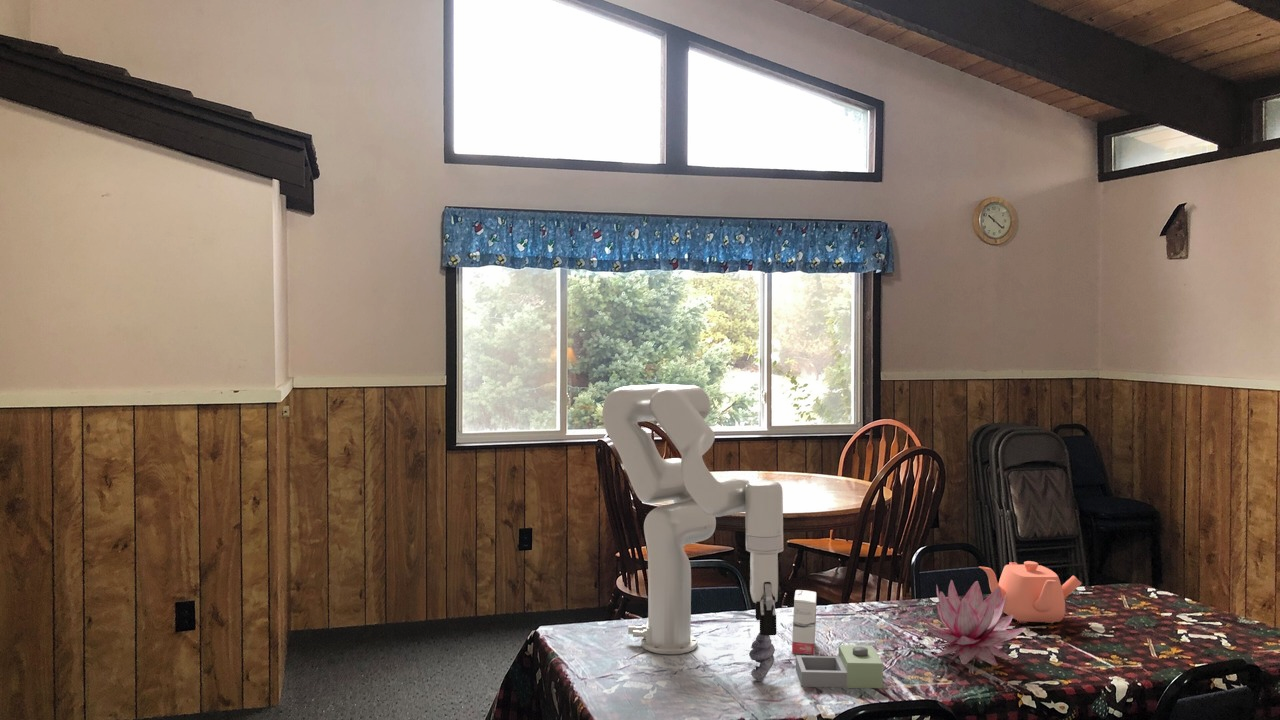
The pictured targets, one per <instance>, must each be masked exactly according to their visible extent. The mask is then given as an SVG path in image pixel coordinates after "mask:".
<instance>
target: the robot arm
mask: <svg viewBox="0 0 1280 720" xmlns="http://www.w3.org/2000/svg"><path fill="white" fill-rule="evenodd" d="M710 412H711V400H710V398H709V396H708V394H707V392H706V391H705V390H704V389H703V388H701V387H699V386H697V385H694V384H671V383H668V384H667V383H654V384H640V385H639V384H635V385H626V386H621V387H617V388H615V389H613V390H612V391H610V392H609V393H608V394H607V396H606V397H605V399H604V401H603V406H602V414H601V415H602V422H603V426H604V430H605V432H606V434H607V435H608V437H609V440H610V441H611V442H612V444H613V446H614V448H615V449H616V451H617V453H618V455H619V457H620V460H621V462H622V464H623V468H624V470H625V472H626V474H627V477H628V480H629V481H630V484H631V487H632V489H633V491H634V492H635V495H636V496H637V498H638V499H639V501H641V502H642V503H644V504H658V503H664V502H668V501H670V502H671V501H673V503H668V504H662V505H660V506H657V507H655V508H653V509H652V510H650V511H649V512H648V514H647V515H646V516H645V519H644V522H643V534H644V539H645V542H646V543H645V544H646V551H647V566H648V568H647V574H648V575H647V576H648V577H647V578H648V581H647V583H648V585H647V586H648V589H647V590H648V593H647V595H648V598H647V599H648V600H647V601H648V602H647V603H648V604H647V605H648V608H647V609H648V610H647V611H648V612H647V618H648V619H647V620H646V624H645V623H643V624H642V625H631V624H629V625H628V627H627V628H628V629H627V630H628V632H627V633H628V635H632V638H641V641H640V642H641V643H640V644H641V645H640V646H641V647H642V648H643V649H645V650H646V651H648V652H651V653H655V654H660V655H680V654H681V655H682V654H687V653H690V652H692V651H694V650H695V649H696V648H697V647H698V638H697V637H695V636H694V635H693V634H692V633H691V630H692V629H691V628H692V626H691V623H692V622H691V621H692V620H691V617H692V616H691V614H692V613H691V612H692V610H691V609H692V606H691V605H692V604H691V602H692V569H691V568H692V566H691V562H690V560H689V557H688V555H687V553H686V551H685V549H684V546H688V545H691V544H696V543H699V542H703V541H706V540H708V539H710V538H711V537H712V536H713V534H714V533H715V531H716V526H717V519H716V518H721V517H725V516H729V515H735V514H741V513H745V515H744V516H745V517H744V521H745V551H747V552H748V553H750V557H749V558H750V559H749V564H750V565H749V567H750V568H749V569H750V572H749V577H750V579H749V592H750V593H749V594H750V597H751V600H752V602H753V603H755V605H754V606H755V620H756V621H759V633H760V635H769V636H776V635H777V614H776V605H775V604H776V602H778V597H779V560H778V559H779V557H778V555H779V553H782V552H784V506H783V503H784V502H783V500H784V498H783V496H784V495H783V487H782V485H781V483H779V482H778V481H775V480H770V479H769V480H767V479H766V480H765V479H763V480H762V479H758V478H755V477H753V476H750V475H745V474H744V475H735V476H728V477H721V478H715V476H714V475H713V473H711V472H710V470H709V469H708V467H707V466H706V463H705V462H704V459H703V455H705V454H706V453H707V452H708V451H709V449H711V447H712V445H713V444H714V442H715V438H716V435H715V433H714V431H713V429H712V428H711V426H709V424H708V423H707V421H706V420H705V419H706V418H707V417H708V416H709V414H710ZM651 421H656V422H657V423H658V424H659V426H660V427H661V428H662V431H664V433H665V434H666V436H667V437H668V438H669V440H670V441H671V442H672V444H673V445H674V447H675V448H676V449H677V450H678V452H679V453H680V456H681V458H680V457H673V458H672V457H671V458H665V459H664V458H662V456H661V455H660V452H659V451H658V449H657V447H656V444H655V441H654V440H653V439H652V437H651V436H650V435H649V434H648V433H647V432H646V430H644V429H643V428H642V427H641V426H639V424H638V423H640V422H651Z"/></svg>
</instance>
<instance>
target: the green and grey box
mask: <svg viewBox="0 0 1280 720" xmlns="http://www.w3.org/2000/svg"><path fill="white" fill-rule="evenodd" d="M883 663H884V662H883V661H882V660H881V657H880V655H879V654H878V653H877V651H876V649H875V648H874V645H861V644H860V645H856V644H855V645H853V644H852V645H851V644H838V655H800V654H799V655H798V654H797V655H795V671H796V675H797V677H798V681H799V684H800V686H801V687H803V688H804V687H806V688H843V689H844V688H845V689H846V688H847V689H848V688H849V689H850V688H853V689H855V688H856V689H883V686H884V685H883V683H884V681H883V680H884V676H883V675H884V672H883V671H884V664H883ZM801 687H800V688H801Z"/></svg>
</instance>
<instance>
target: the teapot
mask: <svg viewBox="0 0 1280 720" xmlns="http://www.w3.org/2000/svg"><path fill="white" fill-rule="evenodd" d="M1008 563H1009V564H1006V565H1004V566H1003V570H1002V572H1001V575H1000V578H999V581H998V580H997V575H996V573H995V571H994V570H993V569H992V568H991V567H988V566H987V567H986V566H978V568H980V569H981V570H983V571H984V572H985V574H986V576H987V578H988V584H989V589H990V592H991V593H992V592H993V591H994V590H995V589H996V588H997V587H1000V589H1001V600H1002V599H1003V597H1004V596H1005V594H1006V602H1005V607H1004V610H1003V613H1004V614H1005V615H1006V616H1009V615H1013V618H1012V619H1014V620H1015V621H1016V620H1017V621H1019V622H1025V623H1026V622H1028V623H1029V622H1031V623H1044V622H1045V623H1044V624H1046V623H1054V622H1055V623H1058V622H1061V621H1062V620H1063V619H1064V616H1065V614H1066V602H1065V599H1066V598H1067V597H1068V596H1069V595H1071V594H1072V593H1073V592H1074V591H1075V590H1077V589H1078V588H1079V587H1080V586H1081V585H1082V584H1083V583H1082V581H1080V580H1079V579H1078V578H1077V576H1075V575H1072V576H1071V577H1070V578H1068V579H1067V580H1065V582H1064V583H1063V584H1061V580H1060V578H1059V576H1058V574H1057V573H1056V572H1054V571H1053V570H1052V569H1050V568H1049V567H1046V566H1043V565H1041V564H1040V565H1039V563H1038V562H1036V561H1031V560H1027V561H1024V562H1023V564H1018V563H1017V562H1012V561H1010V562H1008ZM991 593H990V594H991Z"/></svg>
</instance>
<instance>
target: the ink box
mask: <svg viewBox="0 0 1280 720" xmlns="http://www.w3.org/2000/svg"><path fill="white" fill-rule="evenodd" d="M793 600H794V601H793V602H794V603H793V614H792V615H793V618H792V638H791V639H792V640H791V644H792V645H791V654H797V655H798V654H799V655H800V654H801V655H802V654H803V655H810V656H814V654H815V642H816V641H815V640H816V625H817V624H816V623H817V621H816V620H817V592H816V591H813V590H808V589H807V590H806V589H805V590H803V589H796V590H795V592H794V597H793Z"/></svg>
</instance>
